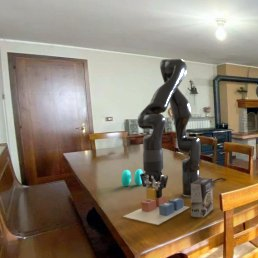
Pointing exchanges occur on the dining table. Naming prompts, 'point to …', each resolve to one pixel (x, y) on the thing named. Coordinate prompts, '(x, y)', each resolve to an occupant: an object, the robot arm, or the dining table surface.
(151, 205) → the left block
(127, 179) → the donuts
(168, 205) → the right block
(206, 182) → the coffee box
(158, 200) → the left block
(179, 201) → the right block
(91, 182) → the dining table surface
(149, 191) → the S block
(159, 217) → the board
